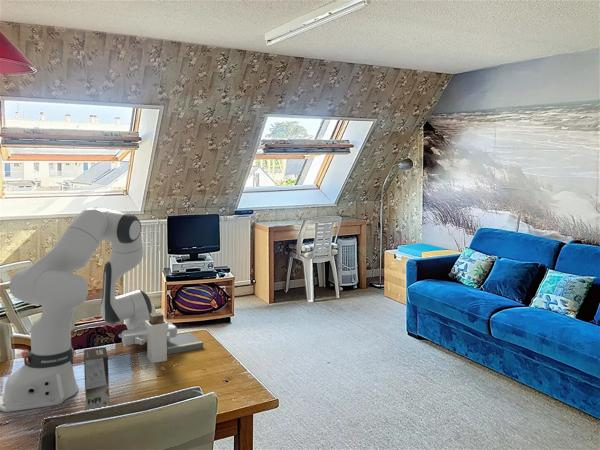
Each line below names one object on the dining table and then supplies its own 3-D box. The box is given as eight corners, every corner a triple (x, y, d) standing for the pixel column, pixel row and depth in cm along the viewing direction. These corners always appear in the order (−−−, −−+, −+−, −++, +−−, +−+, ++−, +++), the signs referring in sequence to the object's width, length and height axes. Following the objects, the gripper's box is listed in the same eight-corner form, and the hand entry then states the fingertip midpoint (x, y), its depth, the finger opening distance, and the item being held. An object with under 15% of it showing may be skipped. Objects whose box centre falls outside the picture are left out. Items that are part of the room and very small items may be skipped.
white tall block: (151, 364, 186) (150, 325, 184) (145, 358, 191) (145, 320, 190) (168, 360, 189) (168, 322, 188) (163, 355, 195) (162, 318, 193)
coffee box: (110, 409, 152) (108, 357, 150) (86, 413, 149) (84, 360, 147) (107, 396, 160) (105, 346, 158) (85, 400, 157) (83, 349, 155)
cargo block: (152, 327, 186) (152, 316, 185) (149, 324, 189) (149, 313, 189) (163, 325, 188) (163, 315, 188) (160, 322, 191) (160, 312, 191)
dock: (167, 354, 195) (167, 348, 195) (156, 342, 207) (156, 337, 207) (203, 347, 203) (203, 342, 203) (190, 337, 215) (190, 332, 214)
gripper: (116, 325, 196) (126, 336, 184) (170, 318, 207) (182, 327, 195) (117, 342, 197) (126, 353, 185) (170, 333, 208) (182, 344, 196)
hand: (155, 340), depth 190 cm, fingers open, 8 cm apart
